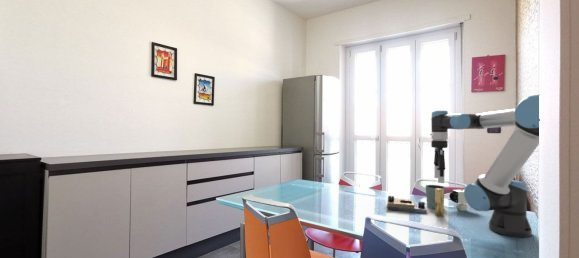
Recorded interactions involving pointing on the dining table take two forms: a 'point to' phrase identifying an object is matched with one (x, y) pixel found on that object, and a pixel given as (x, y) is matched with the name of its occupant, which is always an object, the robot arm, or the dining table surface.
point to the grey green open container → (431, 195)
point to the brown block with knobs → (405, 205)
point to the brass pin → (439, 202)
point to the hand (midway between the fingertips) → (439, 180)
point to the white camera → (459, 199)
